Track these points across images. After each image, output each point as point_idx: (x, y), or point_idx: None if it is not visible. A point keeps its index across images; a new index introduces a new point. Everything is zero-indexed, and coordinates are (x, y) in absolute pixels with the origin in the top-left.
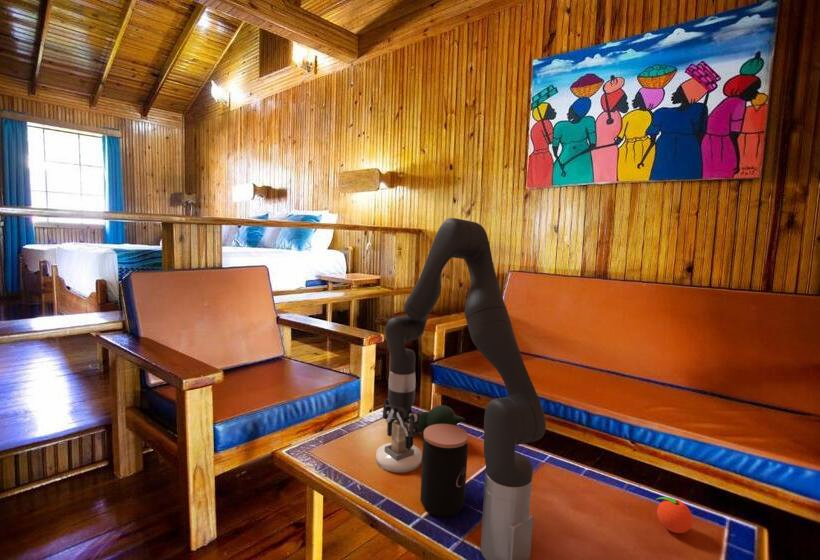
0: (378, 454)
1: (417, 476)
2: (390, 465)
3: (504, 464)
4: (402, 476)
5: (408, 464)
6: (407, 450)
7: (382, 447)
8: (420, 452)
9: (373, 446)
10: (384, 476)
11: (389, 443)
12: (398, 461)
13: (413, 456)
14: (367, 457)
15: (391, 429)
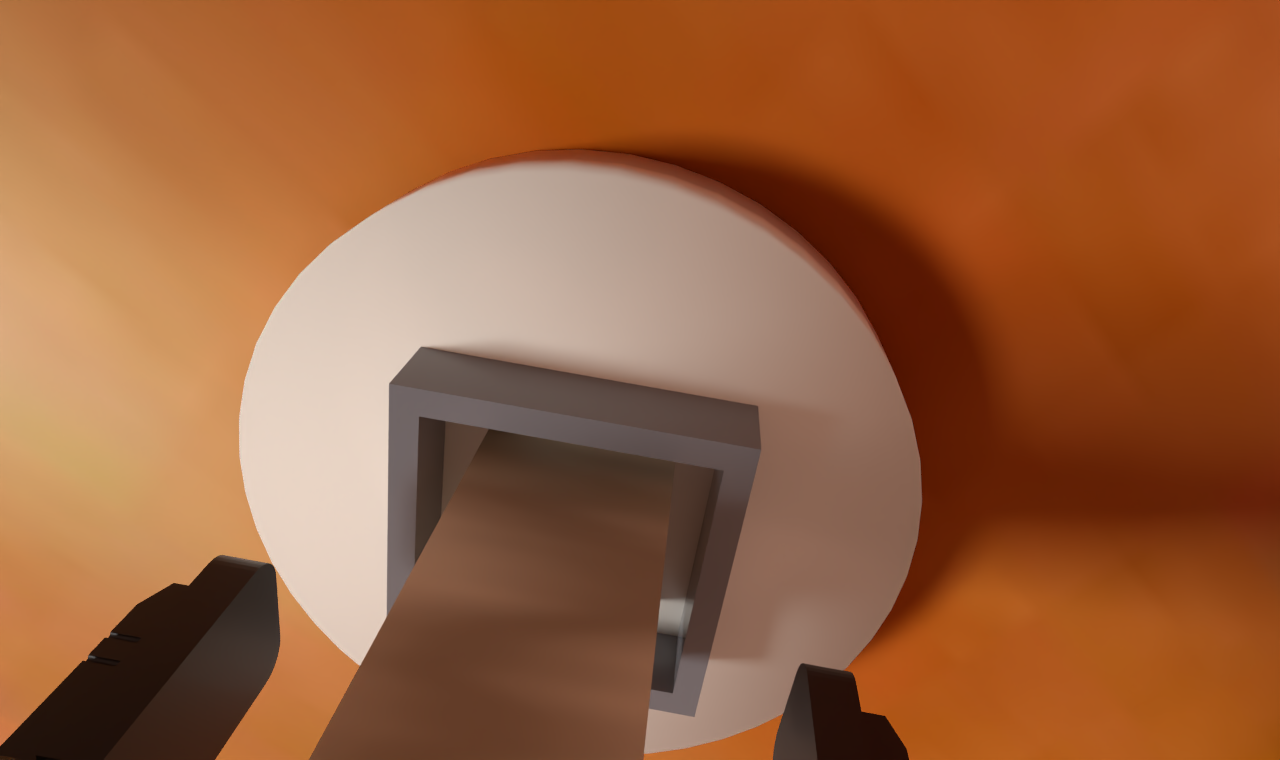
0: None
1: (1014, 562)
2: (701, 734)
3: None
4: (870, 658)
5: (870, 624)
6: (670, 495)
7: (304, 554)
8: (791, 278)
9: (127, 451)
10: (726, 754)
11: (255, 419)
12: (720, 651)
13: (786, 443)
14: (320, 643)
15: (205, 722)
